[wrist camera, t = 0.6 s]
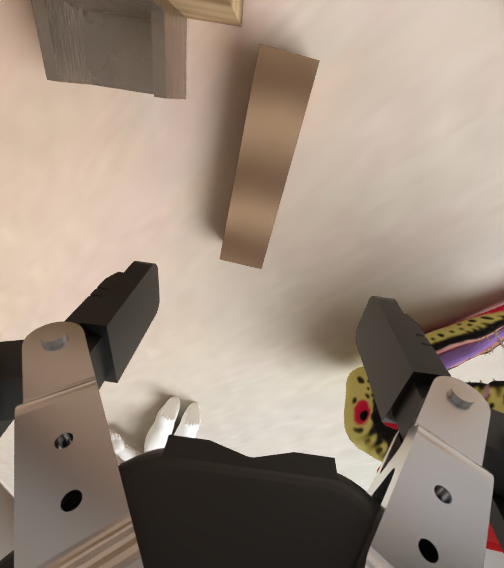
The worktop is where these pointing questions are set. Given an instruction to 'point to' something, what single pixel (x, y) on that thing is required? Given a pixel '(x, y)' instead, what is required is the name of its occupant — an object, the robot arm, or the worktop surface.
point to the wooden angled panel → (211, 10)
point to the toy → (452, 351)
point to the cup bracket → (114, 44)
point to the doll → (163, 428)
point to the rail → (266, 151)
